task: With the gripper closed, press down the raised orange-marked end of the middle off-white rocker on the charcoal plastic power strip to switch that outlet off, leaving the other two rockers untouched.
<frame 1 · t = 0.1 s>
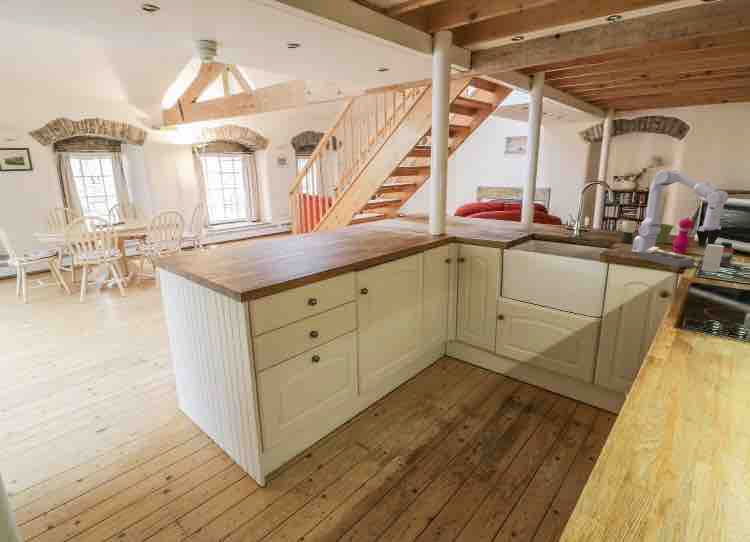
hand: (705, 245, 197), 10 cm above the worktop, tool pointing down, fingers open, 7 cm apart
pepper mill: (679, 252, 228), on the worktop
supplement bottle: (721, 265, 200), on the worktop
left rocker: (652, 249, 208), point 5 cm above the worktop, hinge at 15.0°
power strip: (664, 261, 205), on the worktop
plant pot: (658, 242, 254), on the worktop
middle rocker: (663, 251, 203), point 5 cm above the worktop, hinge at -15.0°
skincare box: (709, 271, 189), on the worktop
character mug: (625, 242, 252), on the worktop
right rocker: (675, 254, 198), point 5 cm above the worktop, hinge at -15.0°
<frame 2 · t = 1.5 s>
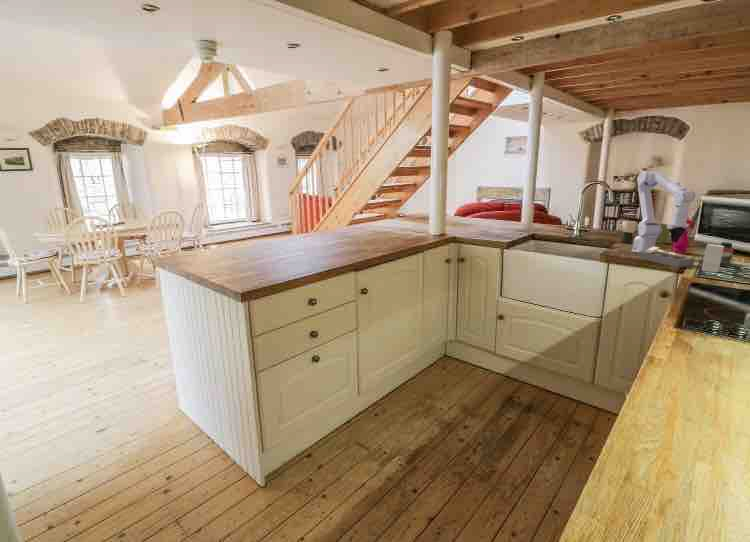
hand: (674, 242, 204), 9 cm above the worktop, tool pointing down, fingers closed
nothing on the worktop moved.
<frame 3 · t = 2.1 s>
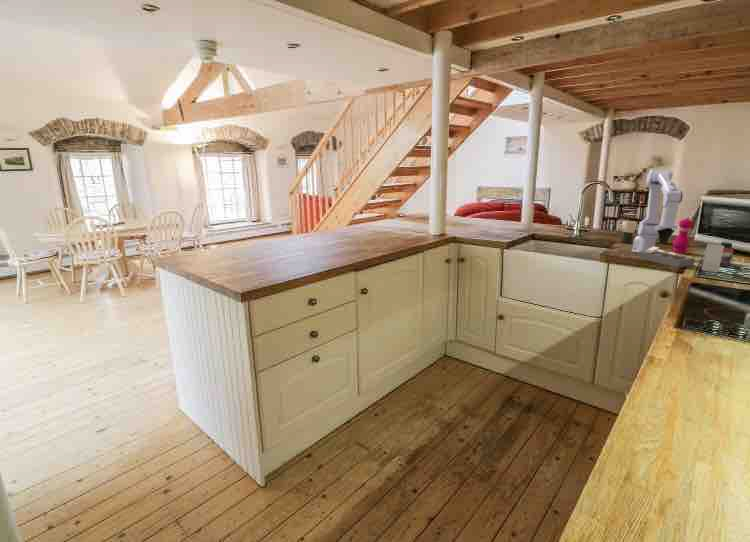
hand: (662, 243, 201), 9 cm above the worktop, tool pointing down, fingers closed
nothing on the worktop moved.
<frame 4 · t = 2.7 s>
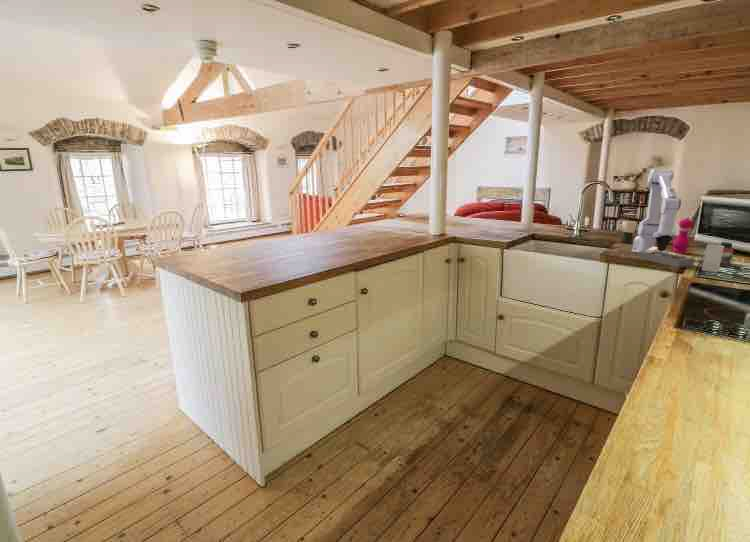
hand: (660, 250, 202), 6 cm above the worktop, tool pointing down, fingers closed, pressing on middle rocker
middle rocker: (663, 251, 203), point 5 cm above the worktop, hinge at -15.0°, touching gripper
everything else where it was.
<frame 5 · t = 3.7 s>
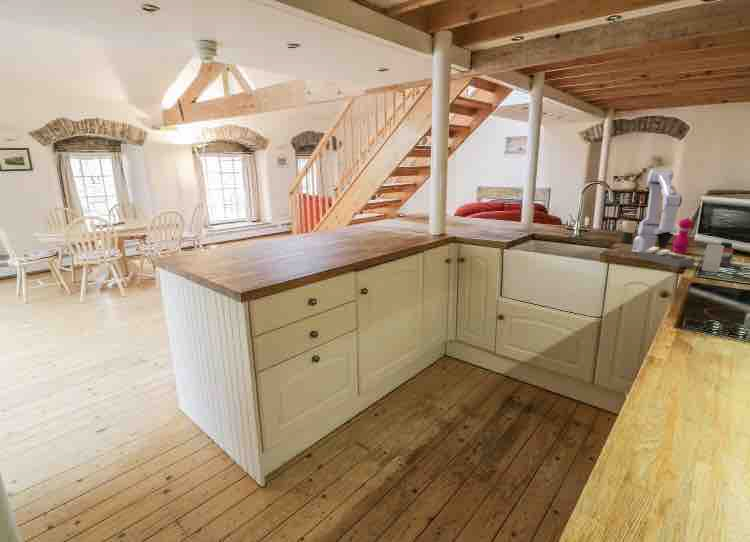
hand: (661, 247, 201), 7 cm above the worktop, tool pointing down, fingers closed
middle rocker: (663, 251, 203), point 5 cm above the worktop, hinge at 8.0°
everything else where it was.
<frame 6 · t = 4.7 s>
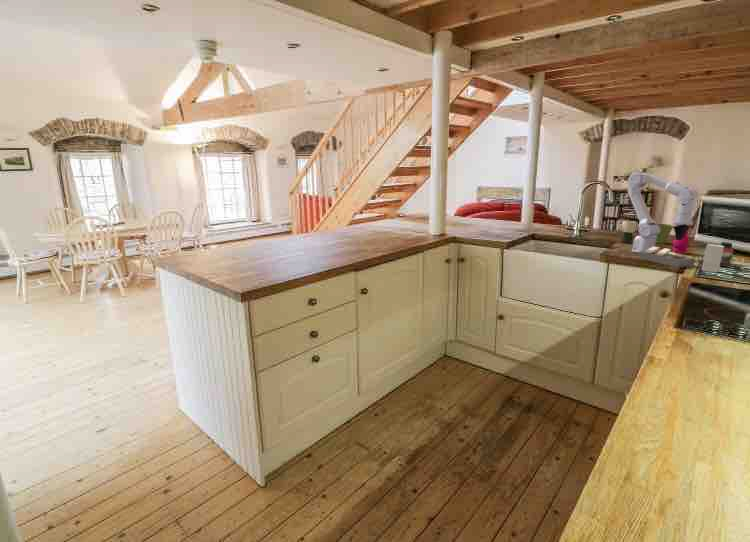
hand: (678, 239, 209), 10 cm above the worktop, tool pointing down, fingers closed
middle rocker: (663, 251, 203), point 5 cm above the worktop, hinge at 19.0°
everything else where it was.
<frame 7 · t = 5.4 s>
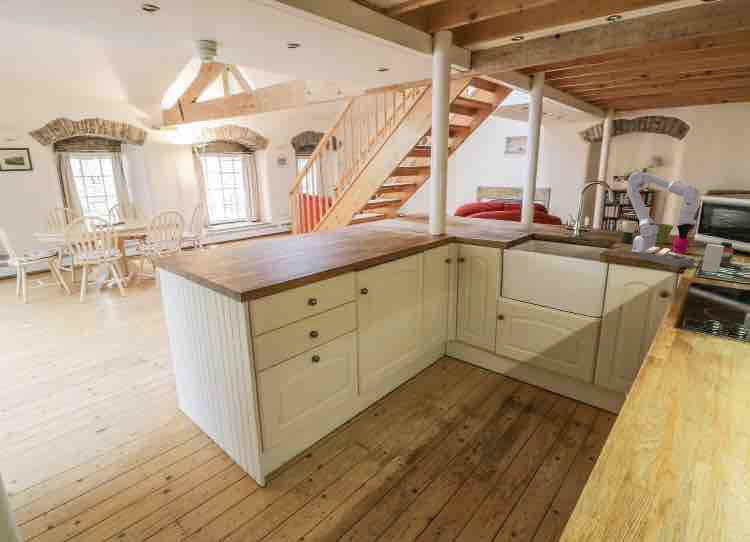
hand: (682, 238, 209), 10 cm above the worktop, tool pointing down, fingers closed
middle rocker: (663, 251, 203), point 5 cm above the worktop, hinge at 23.1°, touching power strip
everything else where it was.
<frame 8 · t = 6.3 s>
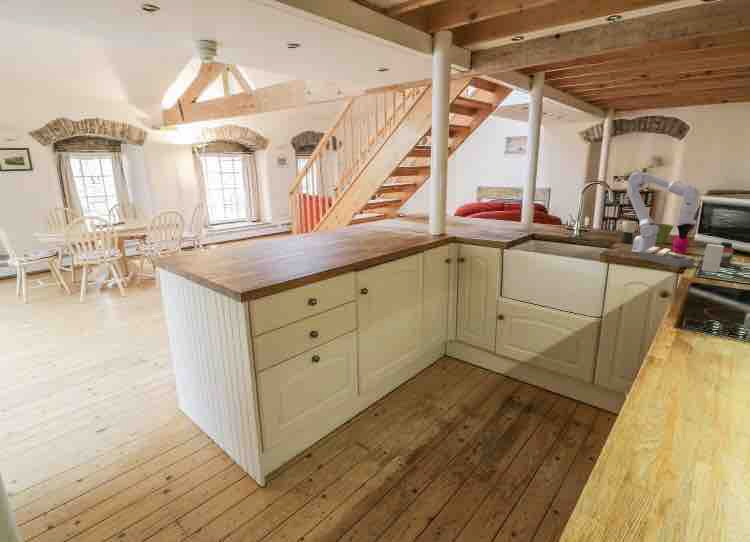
hand: (682, 238, 209), 10 cm above the worktop, tool pointing down, fingers closed
middle rocker: (663, 251, 203), point 5 cm above the worktop, hinge at 19.4°
everything else where it was.
at the end: middle rocker at +19° (first picture: -15°); left rocker at +15° (first picture: +15°); right rocker at -15° (first picture: -15°) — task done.
